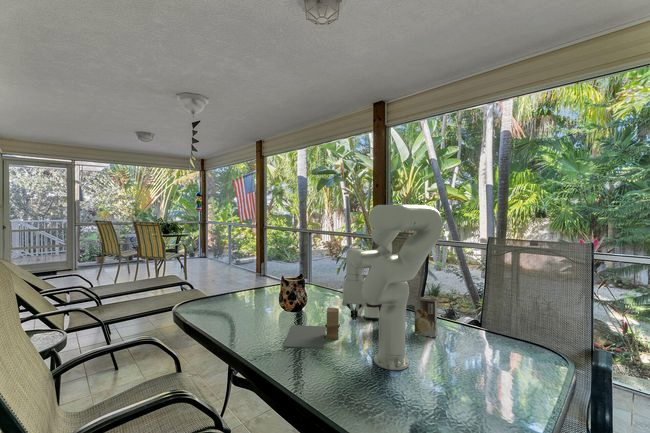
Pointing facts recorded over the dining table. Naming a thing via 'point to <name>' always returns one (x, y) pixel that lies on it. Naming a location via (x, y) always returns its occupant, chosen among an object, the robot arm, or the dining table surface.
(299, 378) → the dining table surface
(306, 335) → the mat
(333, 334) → the block
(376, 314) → the spread jar
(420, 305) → the coffee box
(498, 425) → the dining table surface
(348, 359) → the dining table surface
